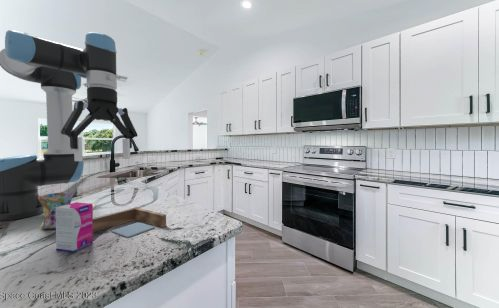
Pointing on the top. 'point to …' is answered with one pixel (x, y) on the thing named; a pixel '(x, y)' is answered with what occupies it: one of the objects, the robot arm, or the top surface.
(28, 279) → the top surface
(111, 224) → the wooden l-shaped corner
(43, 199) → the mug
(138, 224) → the pad
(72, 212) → the supplement box
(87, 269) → the top surface
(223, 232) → the top surface
